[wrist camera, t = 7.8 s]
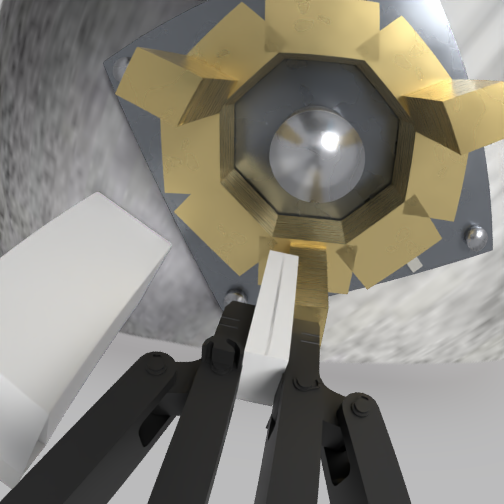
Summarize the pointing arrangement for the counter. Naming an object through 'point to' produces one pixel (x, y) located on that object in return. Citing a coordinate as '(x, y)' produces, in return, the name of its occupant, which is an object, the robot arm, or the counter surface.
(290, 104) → the flange plate
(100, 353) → the milk carton
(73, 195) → the counter surface
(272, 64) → the gold foil sensor mount
